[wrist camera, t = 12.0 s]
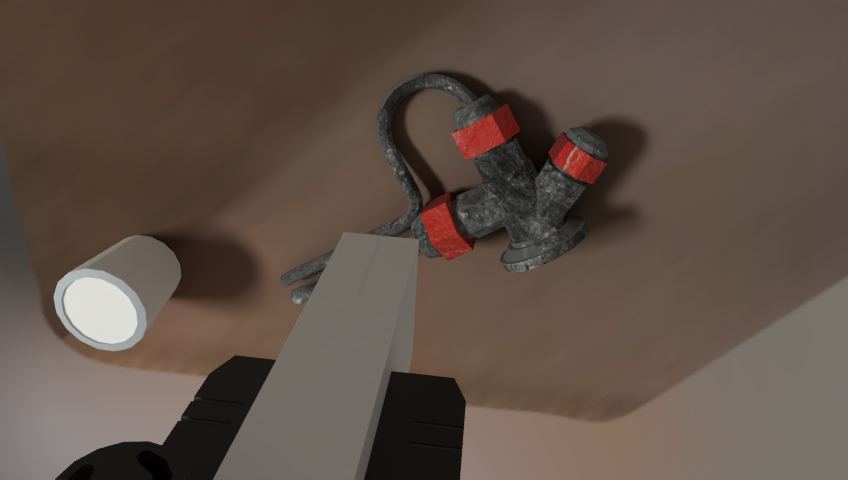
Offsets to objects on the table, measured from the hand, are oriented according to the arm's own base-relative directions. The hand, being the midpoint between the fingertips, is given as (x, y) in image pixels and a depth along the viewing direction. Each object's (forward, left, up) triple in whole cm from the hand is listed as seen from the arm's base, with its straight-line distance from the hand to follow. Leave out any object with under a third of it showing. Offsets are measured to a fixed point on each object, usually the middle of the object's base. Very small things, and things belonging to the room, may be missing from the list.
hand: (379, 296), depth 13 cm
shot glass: (+24, +19, -33) cm, 45 cm away
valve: (+2, +10, -33) cm, 35 cm away
